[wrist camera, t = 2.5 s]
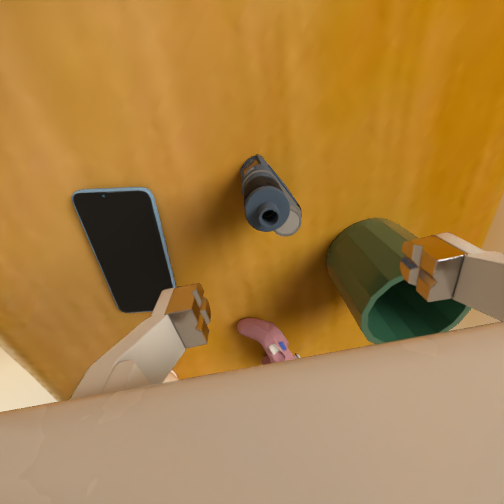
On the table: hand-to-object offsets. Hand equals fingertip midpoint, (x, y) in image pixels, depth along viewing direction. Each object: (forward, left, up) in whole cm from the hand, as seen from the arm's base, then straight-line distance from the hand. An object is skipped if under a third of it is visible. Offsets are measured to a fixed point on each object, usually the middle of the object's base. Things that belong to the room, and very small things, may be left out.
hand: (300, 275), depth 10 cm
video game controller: (+21, -3, -15) cm, 26 cm away
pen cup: (+11, +10, -15) cm, 21 cm away
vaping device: (0, 0, -15) cm, 15 cm away
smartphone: (+5, -15, -15) cm, 22 cm away
